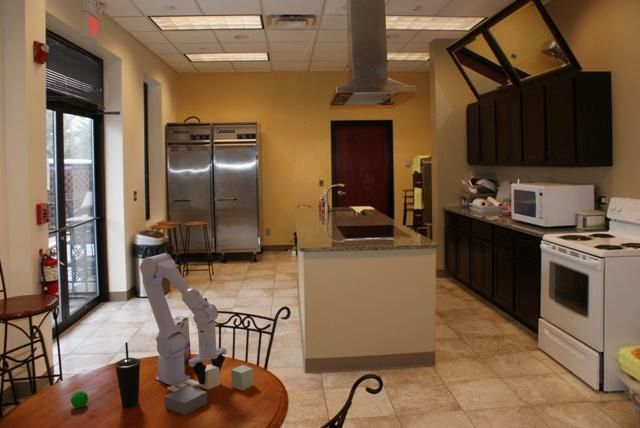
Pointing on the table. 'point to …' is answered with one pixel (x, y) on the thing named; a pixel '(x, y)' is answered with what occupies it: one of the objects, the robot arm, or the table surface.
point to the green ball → (79, 399)
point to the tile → (183, 385)
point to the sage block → (242, 377)
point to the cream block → (211, 377)
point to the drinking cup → (128, 380)
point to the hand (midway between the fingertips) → (209, 380)
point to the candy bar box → (184, 325)
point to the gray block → (185, 400)
